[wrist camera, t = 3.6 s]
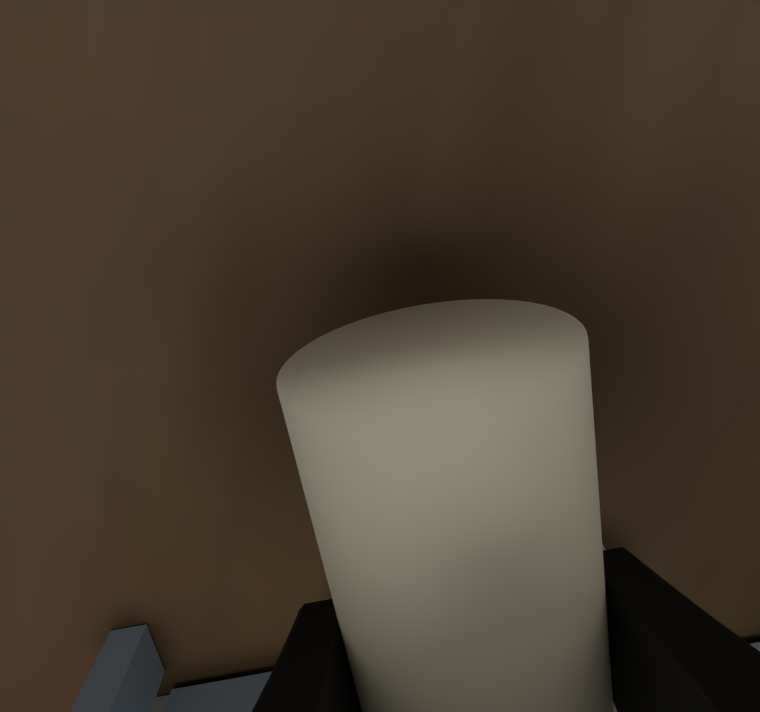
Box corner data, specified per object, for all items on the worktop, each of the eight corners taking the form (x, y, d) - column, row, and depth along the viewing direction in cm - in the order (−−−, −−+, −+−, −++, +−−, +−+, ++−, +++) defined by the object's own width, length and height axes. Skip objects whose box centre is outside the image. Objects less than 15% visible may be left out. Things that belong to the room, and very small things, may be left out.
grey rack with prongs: (607, 539, 20) (685, 663, 15) (615, 638, 21) (689, 780, 17) (104, 631, 20) (29, 780, 16) (142, 722, 22) (84, 885, 17)
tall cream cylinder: (282, 333, 10) (266, 456, 6) (525, 282, 10) (653, 373, 6) (406, 827, 14) (442, 1075, 11) (577, 786, 14) (671, 1017, 11)
